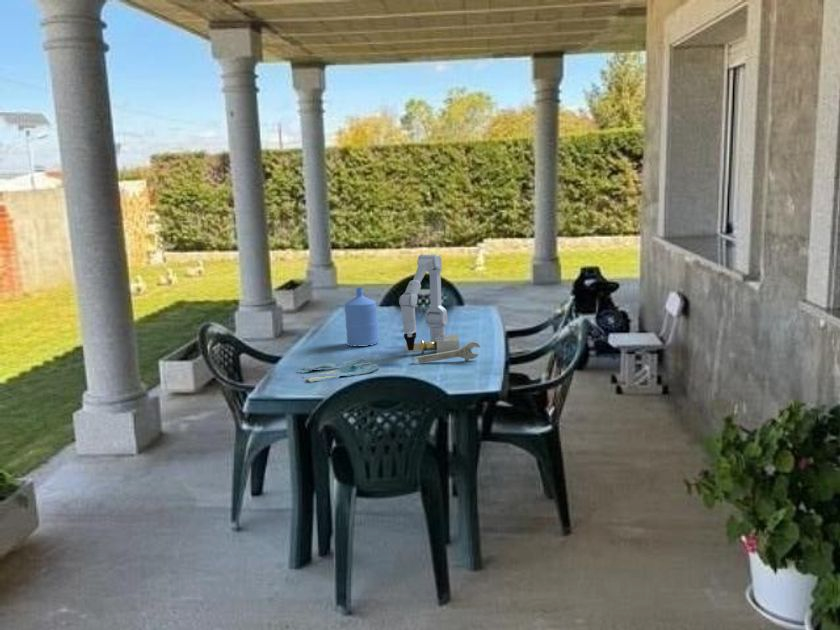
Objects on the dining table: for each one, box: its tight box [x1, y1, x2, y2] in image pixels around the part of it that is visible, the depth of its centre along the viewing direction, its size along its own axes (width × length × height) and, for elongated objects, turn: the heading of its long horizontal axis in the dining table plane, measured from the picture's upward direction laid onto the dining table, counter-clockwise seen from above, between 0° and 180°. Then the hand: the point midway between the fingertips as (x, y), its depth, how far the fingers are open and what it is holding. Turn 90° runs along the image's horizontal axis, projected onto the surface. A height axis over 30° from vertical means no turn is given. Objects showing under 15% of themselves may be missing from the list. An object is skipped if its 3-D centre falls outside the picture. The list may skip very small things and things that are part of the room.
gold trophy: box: [405, 339, 437, 355], centre depth 349 cm, size 6×14×6 cm, turn 90°
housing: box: [436, 333, 460, 353], centre depth 349 cm, size 14×10×7 cm
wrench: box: [412, 341, 481, 365], centre depth 332 cm, size 8×2×30 cm
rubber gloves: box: [298, 356, 380, 382], centre depth 327 cm, size 27×33×6 cm
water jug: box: [344, 287, 380, 346], centre depth 377 cm, size 16×16×28 cm
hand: (410, 349), depth 349 cm, fingers closed on gold trophy, 2 cm apart
